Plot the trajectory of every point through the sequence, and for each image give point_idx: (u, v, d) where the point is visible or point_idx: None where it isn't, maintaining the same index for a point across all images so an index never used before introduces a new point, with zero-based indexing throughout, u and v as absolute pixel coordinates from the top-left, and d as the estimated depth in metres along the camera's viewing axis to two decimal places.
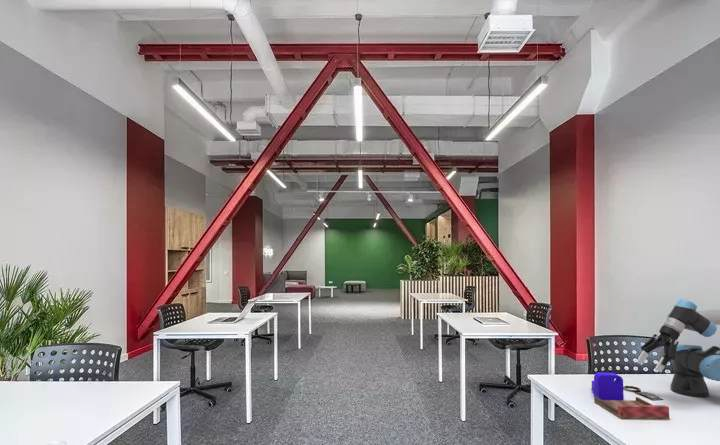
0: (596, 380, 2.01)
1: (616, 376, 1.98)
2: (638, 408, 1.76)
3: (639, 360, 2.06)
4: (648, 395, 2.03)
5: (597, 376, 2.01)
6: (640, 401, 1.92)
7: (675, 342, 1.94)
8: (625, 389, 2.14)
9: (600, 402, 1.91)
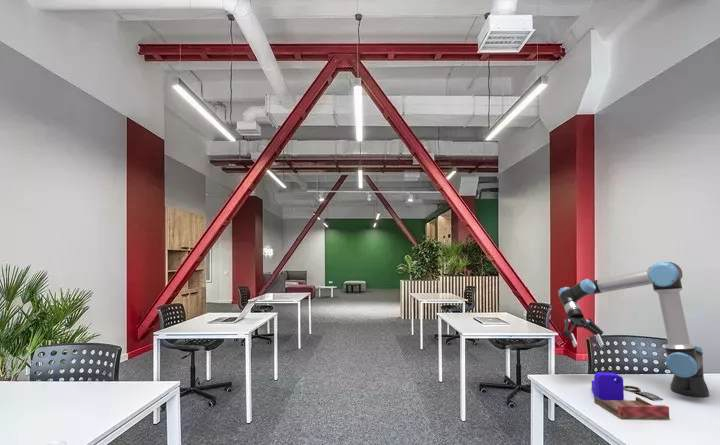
0: (596, 380, 2.01)
1: (616, 376, 1.98)
2: (638, 408, 1.76)
3: (599, 344, 2.20)
4: (648, 395, 2.03)
5: (597, 376, 2.01)
6: (640, 401, 1.92)
7: (565, 321, 2.30)
8: (625, 389, 2.14)
9: (600, 402, 1.91)
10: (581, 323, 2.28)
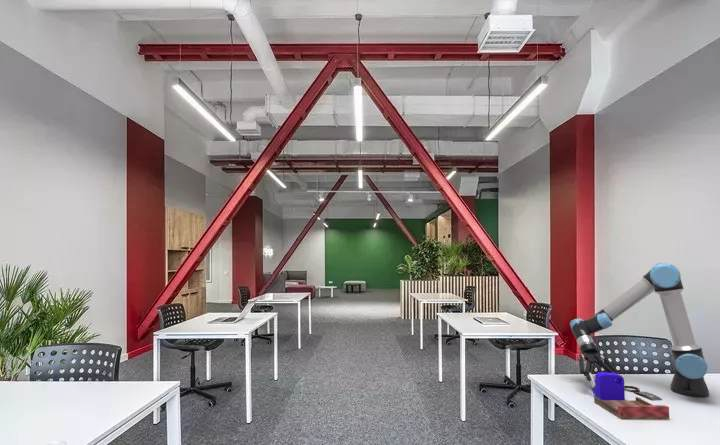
0: (597, 380, 2.01)
1: (617, 376, 1.98)
2: (638, 408, 1.76)
3: None
4: (647, 395, 2.04)
5: (598, 376, 2.00)
6: (640, 401, 1.92)
7: (579, 357, 2.16)
8: (624, 389, 2.14)
9: (600, 402, 1.91)
10: (595, 359, 2.14)
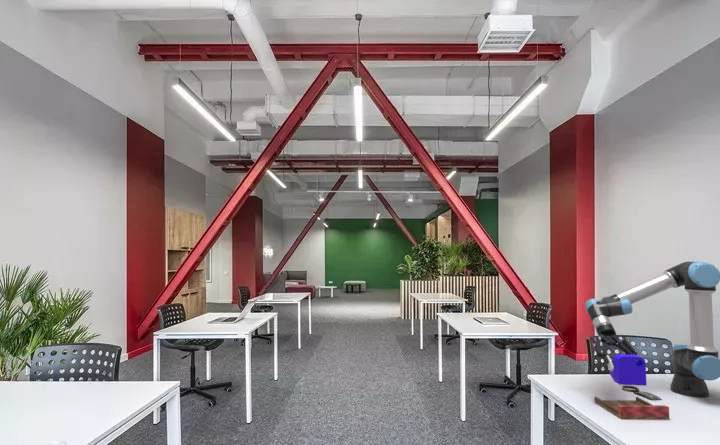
0: (615, 363, 1.85)
1: (638, 358, 1.82)
2: (638, 408, 1.76)
3: None
4: (647, 395, 2.04)
5: (617, 358, 1.85)
6: (640, 401, 1.92)
7: (595, 339, 2.00)
8: (624, 389, 2.14)
9: (600, 402, 1.91)
10: (613, 341, 1.98)
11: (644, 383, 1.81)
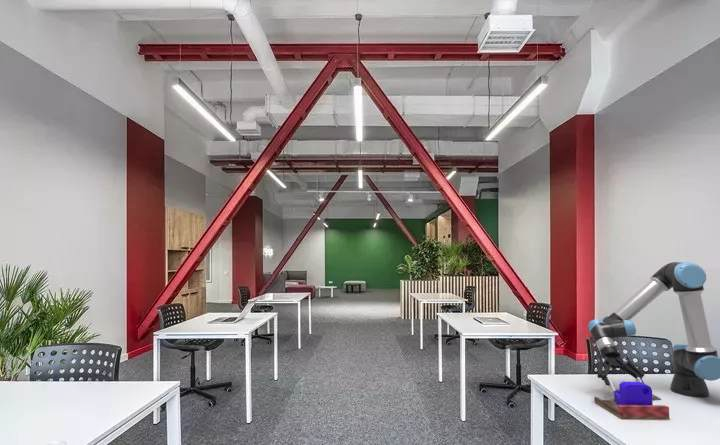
0: (622, 391, 1.83)
1: (644, 386, 1.80)
2: (638, 408, 1.76)
3: None
4: None
5: (623, 386, 1.82)
6: None
7: (598, 360, 1.98)
8: None
9: (600, 402, 1.91)
10: (618, 363, 1.96)
11: None
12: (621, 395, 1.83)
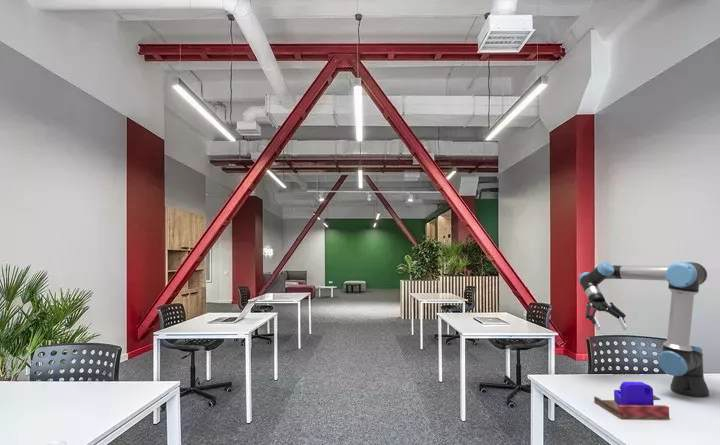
0: (623, 391, 1.82)
1: (646, 386, 1.80)
2: (638, 408, 1.76)
3: (622, 327, 2.21)
4: None
5: (625, 386, 1.82)
6: None
7: (587, 305, 2.31)
8: None
9: (600, 402, 1.91)
10: (603, 307, 2.29)
11: None
12: (622, 395, 1.83)
